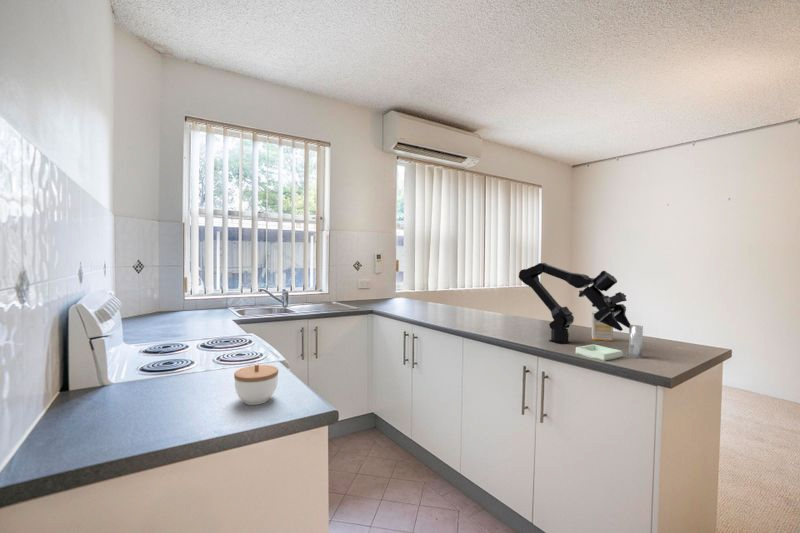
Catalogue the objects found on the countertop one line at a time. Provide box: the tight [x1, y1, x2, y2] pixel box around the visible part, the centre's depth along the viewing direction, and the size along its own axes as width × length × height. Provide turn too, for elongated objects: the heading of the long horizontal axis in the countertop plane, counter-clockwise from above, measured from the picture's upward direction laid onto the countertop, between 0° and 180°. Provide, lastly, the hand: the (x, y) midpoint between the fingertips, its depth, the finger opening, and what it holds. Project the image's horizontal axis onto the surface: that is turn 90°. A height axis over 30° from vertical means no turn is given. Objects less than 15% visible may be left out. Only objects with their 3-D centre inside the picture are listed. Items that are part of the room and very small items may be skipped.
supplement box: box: [591, 310, 614, 342], centre depth 170 cm, size 8×5×13 cm, turn 71°
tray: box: [575, 344, 623, 362], centre depth 143 cm, size 12×12×2 cm
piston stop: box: [628, 324, 644, 359], centre depth 142 cm, size 4×4×12 cm
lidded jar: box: [233, 363, 279, 406], centre depth 96 cm, size 11×11×9 cm
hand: (626, 328), depth 145 cm, fingers open, 9 cm apart
